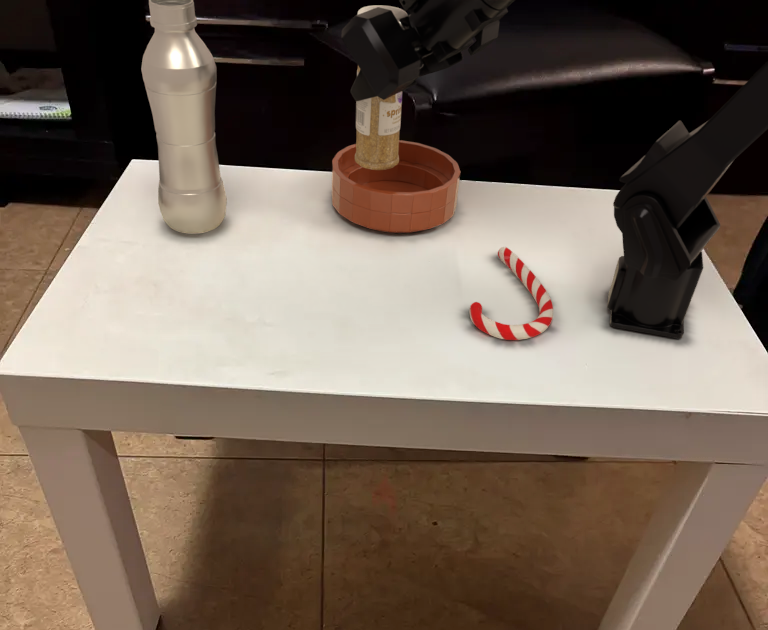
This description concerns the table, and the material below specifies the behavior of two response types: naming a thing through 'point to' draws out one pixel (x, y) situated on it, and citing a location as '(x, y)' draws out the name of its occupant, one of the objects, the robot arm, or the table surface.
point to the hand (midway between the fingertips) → (367, 89)
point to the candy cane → (537, 292)
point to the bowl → (397, 189)
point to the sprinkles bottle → (378, 122)
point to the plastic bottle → (183, 119)
